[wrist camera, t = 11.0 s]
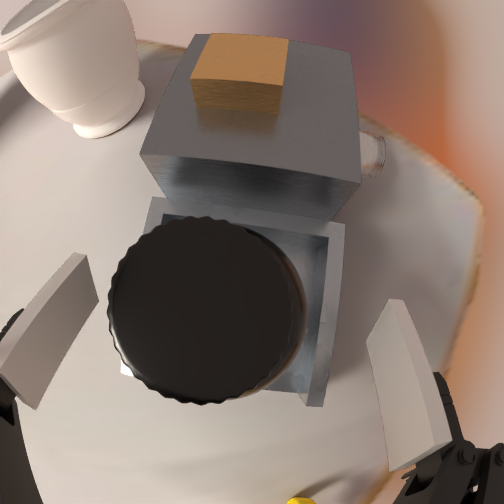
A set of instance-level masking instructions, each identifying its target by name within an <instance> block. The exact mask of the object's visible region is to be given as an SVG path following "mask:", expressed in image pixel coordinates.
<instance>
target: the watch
mask: <svg viewBox="0 0 504 504" xmlns="http://www.w3.org/2000/svg"><path fill="white" fill-rule="evenodd" d="M287 504H316V503H315V502H314V501H313V500H311V499H310V498H297V497H294V498H292V499H290V500H288V502H287Z"/></svg>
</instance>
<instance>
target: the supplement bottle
mask: <svg viewBox="0 0 504 504" xmlns="http://www.w3.org/2000/svg"><path fill="white" fill-rule="evenodd" d="M108 301H109V305H108V309H107V315H108V318H109V321H110V322H109V331H110V333H111V335H112V336H113V340H114V347H115V349H116V350H117V351H118V352H119V353H120V355H121V359H122V361H123V363H124V364H125V365H126V366H127V367H129V368H130V370H131V372H132V374H133V375H134V377H135V378H137V379H139V380H141V381H143V382H144V384H145V385H146V386H147V387H148V389H151V390H155V391H158V392H159V393H160V394H161V395H162V396H163V397H165V398H174V399H176V400H177V401H179V402H181V403H189V402H192V403H194V404H197V405H201V406H202V405H205V404H207V403H215V404H221V403H222V402H224V401H225V400H234V399H239V398H243V397H246V396H249V395H252V394H254V393H257V392H259V391H261V390H263V389H264V388H266V387H267V386H269V385H270V384H272V383H273V382H274V381H276V380H277V379H278V378H279V377H280V376H281V375H282V374H283V373H284V372H285V371H286V370H287V369H288V367H289V366H290V365H291V364H292V362H293V360H294V359H295V357H296V356H297V354H298V352H299V350H300V347H301V345H302V342H303V339H304V336H305V332H306V326H307V315H308V312H307V300H306V294H305V290H304V286H303V283H302V281H301V278H300V276H299V274H298V272H297V270H296V268H295V266H294V265H293V263H292V262H291V260H290V259H289V258H288V256H287V255H286V254H285V253H284V252H283V251H282V250H281V249H280V248H279V247H278V246H277V245H276V244H275V243H273V242H272V241H271V240H269V239H268V238H267V237H265V236H263V235H262V234H260V233H258V232H256V231H254V230H252V229H249V228H246V227H243V226H239V225H235V224H230V223H229V222H228V221H227V220H225V219H220V220H214V219H213V218H211V217H209V216H204V217H200V218H196V217H194V216H187V217H185V218H183V219H171V220H170V221H168V222H167V223H166V224H165V225H158V226H155V227H154V228H153V229H152V231H151V232H150V233H147V234H144V235H142V236H141V237H140V238H139V240H138V242H137V243H136V244H134V245H132V246H131V247H129V249H128V251H127V253H126V256H125V257H124V258H122V259H121V260H120V261H119V264H118V269H117V271H116V273H115V274H114V275H113V277H112V281H111V289H110V290H109V293H108Z"/></svg>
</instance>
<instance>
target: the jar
mask: <svg viewBox="0 0 504 504" xmlns="http://www.w3.org/2000/svg"><path fill="white" fill-rule="evenodd" d="M0 51H7V52H8V55H9V59H10V62H11V65H12V67H13V69H14V71H15V73H16V75H17V77H18V78H19V80H20V82H21V83H22V84H23V86H24V87H25V88H26V90H27V91H28V92H29V93H30V94H31V95H32V96H33V97H34V98H35V99H36V100H38V101H39V102H40V103H41V104H43V105H44V106H46V107H48V108H49V110H51V111H52V112H53V113H54V114H55V115H57V116H58V117H59V118H61V119H63V120H65V121H67V122H69V123H72V124H73V127H74V129H75V131H76V133H77V134H78V135H80V136H82V137H84V138H99V137H103V136H106V135H109V134H111V133H113V132H115V131H117V130H118V129H120V128H121V127H123V126H124V125H125V124H127V123H128V122H129V121H130V120H131V119H132V118H133V117H134V116H135V115H136V114H137V112H138V111H139V109H140V108H141V106H142V104H143V102H144V98H145V88H144V86H143V84H142V83H141V81H139V80H138V77H139V60H138V54H137V46H136V38H135V32H134V27H133V23H132V20H131V17H130V14H129V11H128V9H127V7H126V5H125V3H124V1H123V0H33V1H31V2H30V3H29V4H28V5H27V6H25V7H24V8H23V9H22V10H20V11H19V12H18V13H17V14H16V15H15V16H14V17H13V18H12V19H11V20H10V21H9V22H8V23H7V24H6V25H5V26H4V27H3V28H2V30H1V31H0Z"/></svg>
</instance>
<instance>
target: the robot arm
mask: <svg viewBox="0 0 504 504" xmlns="http://www.w3.org/2000/svg"><path fill="white" fill-rule="evenodd" d="M98 302H99V299H98V296H97V293H96V289H95V286H94V282H93V279H92V275H91V271H90V267H89V263H88V259H87V255H84V254H78V253H73V254H72V255H71V256H70V257H69V258H68V260H67V261H66V262H65V263H64V264H63V265H62V266H61V267H60V268H59V269H58V270H57V271H56V273H55V274H54V275H53V276H52V277H51V278H50V279H49V280H48V282H47V283H46V284H45V285H44V286H43V287H42V289H41V290H40V291H39V292H38V293H37V294H36V296H35V297H34V298H33V299H32V301H31V302H30V303H29V304H28V306H27V307H26V308H25V309H23V308H22V309H21V310H19V311H18V312H17V313H15V314H14V315H13V316H12V317H11V319H10V320H9V321H8V323H7V325H6V326H5V327H4V328H3V329H2V332H1V333H0V504H43V502H42V499H41V497H40V494H39V491H38V489H37V486H36V483H35V480H34V477H33V474H32V470H31V467H30V464H29V460H28V456H27V452H26V448H25V444H24V440H23V435H22V431H21V425H20V420H19V414H18V408H17V403H16V400H15V399H14V398H15V396H17V397H18V398H19V399H20V400H21V401H22V402H23V403H25V404H26V405H28V406H29V407H31V408H33V409H34V410H36V409H37V407H38V405H39V403H40V401H41V399H42V397H43V395H44V393H45V391H46V389H47V387H48V385H49V384H50V382H51V380H52V378H53V376H54V374H55V372H56V371H57V369H58V367H59V365H60V363H61V362H62V360H63V358H64V356H65V355H66V353H67V351H68V350H69V348H70V346H71V345H72V343H73V341H74V340H75V338H76V336H77V335H78V333H79V331H80V330H81V328H82V327H83V325H84V323H85V322H86V320H87V319H88V317H89V316H90V314H91V313H92V311H93V310H94V308H95V307H96V305H97V304H98ZM366 345H367V349H368V353H369V358H370V362H371V366H372V371H373V375H374V380H375V385H376V390H377V395H378V400H379V405H380V411H381V416H382V422H383V428H384V434H385V441H386V448H387V455H388V463H389V472H391V471H396V470H401V469H405V468H408V467H410V466H411V465H413V464H415V463H416V468H415V469H414V470H411V471H410V472H408V473H406V474H404V475H403V476H402V477H401V479H404V478H407V477H409V476H410V477H409V478H408V479H407V480H406V481H407V482H406V484H405V485H404V487H403V489H402V490H401V492H400V494H399V495H398V496H397V498H396V500H395V501H394V503H393V504H504V444H503V443H498V444H496V445H495V446H494V447H492V448H491V449H480V448H475V446H474V445H473V444H472V443H471V442H470V441H466V440H464V438H463V435H462V432H461V428H460V424H459V421H458V417H457V414H456V411H455V408H454V405H453V404H452V403H453V401H452V398H451V396H450V392H449V389H448V386H447V383H446V381H445V380H444V378H443V377H442V376H441V374H440V373H439V372H433V373H432V370H431V367H430V364H429V361H428V359H427V356H426V353H425V351H424V348H423V346H422V343H421V341H420V338H419V336H418V333H417V331H416V328H415V326H414V323H413V321H412V319H411V316H410V314H409V312H408V310H407V307H406V305H405V303H404V301H403V300H398V299H388V301H387V303H386V305H385V307H384V309H383V310H382V312H381V314H380V316H379V318H378V320H377V322H376V324H375V325H374V327H373V329H372V331H371V333H370V334H369V336H368V338H367V340H366ZM476 485H478V489H477V491H476V492H473V487H474V486H476Z"/></svg>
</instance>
